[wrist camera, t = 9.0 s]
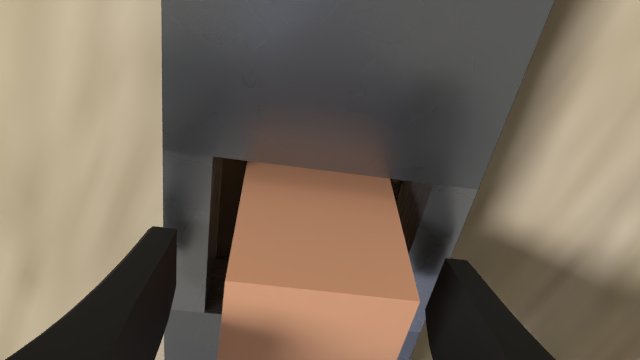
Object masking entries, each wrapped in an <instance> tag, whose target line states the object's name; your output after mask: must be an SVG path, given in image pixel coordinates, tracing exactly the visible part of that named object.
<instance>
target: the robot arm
mask: <svg viewBox="0 0 640 360" xmlns="http://www.w3.org/2000/svg"><path fill="white" fill-rule="evenodd" d="M176 269H177V229H172V228H163V227H154V226H153V227H151V228H150V229H148V230H147V232H146V233H145V234H144V236H143V237H142V238H141V239H140V240H139V242H138V243H137V244H136V245H135V246H134V247H133V249H132V250H131V251H130V252H129V253H128V254H127V255H126V256H125V258H124V259H123V260H122V261H121V262H120V263H119V264H118V265H117V266H116V267H115V268H114V269H113V270H112V271H111V272H110V273H109V274H108V275H107V277H106V278H105V279H104V280H103V281H102V282H101V283H100V284H99V285H98V286H96V287H95V288H94V289H93V290H92V291H91V292H90V293H89V294H88V295H87V296H86V297H85V298H84V299H82V300H81V301H80V302H79V303H78V304H77V305H76V306H75V307H74V308H73V309H71V310H70V311H69V312H68V313H67V314H66V315H64V316H63V317H62V318H61V319H60V320H58V321H57V322H56V323H55V324H53V325H52V326H51V327H50V328H48V329H47V330H46V331H44V332H43V333H42V334H41V335H39V336H38V337H36V338H35V339H34V340H32V341H31V342H30V343H28V344H27V345H25V346H24V347H23V348H21V349H20V350H19V351H17V352H16V353H14V354H13V355H11V356H10V357H8V358H7V359H5V360H155V357H156V354H157V351H158V349H159V346H160V343H161V340H162V337H163V334H164V332H165V329H166V326H167V323H168V320H169V315H170V311H171V307H172V303H173V298H174V294H175V289H176ZM425 315H426V324H427V332H428V339H429V346H430V350H431V354H432V358H433V360H556V359H555V358H553V357H552V356H551V355H550V354H549V353H548V352H547V351H546V350H545V349H544V348H543V347H542V346H541V344H540V343H539V342H538V341H537V340H536V339H535V338H534V337H533V336H532V335H531V334H530V333H529V332H528V331H527V330H526V329H525V328H524V327H523V325H522V324H521V323H520V322H519V321H518V320H517V319H516V318H515V317H514V315H513V314H512V313H511V312H510V311H509V310H508V309H507V307H506V306H505V305H504V304H503V303H502V302H501V300H500V299H499V298H498V297H497V296H496V294H495V293H494V292H493V291H492V290H491V288H490V287H489V286H488V285H487V284H486V282H485V281H484V280H483V279H482V278H481V276H480V275H479V274H478V273H477V272H476V270H475V269H474V268H473V267H472V266H471V265H470V263H469V262H468V261H467V260H458V259H449V258H445V260H444V263H443V265H442V268H441V270H440V273H439V275H438V278H437V280H436V283H435V286H434V288H433V291H432V293H431V296H430V298H429V301H428V303H427V306H426V308H425Z"/></svg>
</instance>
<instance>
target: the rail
mask: <svg viewBox="0 0 640 360" xmlns="http://www.w3.org/2000/svg"><path fill="white" fill-rule="evenodd" d="M553 3H554V0H161V7H162V122H163V228H172V229H177V269H176V289H175V294H174V298H173V303H172V307H171V311H170V315H169V320H168V323H167V326H166V329H165V332H164V352H165V360H217V359H218V349H219V339H220V328H221V318H222V308H223V297H224V287H225V279H226V273H227V268H228V262H229V258H222V257H216V255H217V240H218V225H219V210H220V195H221V180H222V165H223V158H229V159H237V160H245V161H253V162H261V163H269V164H277V165H285V166H293V167H301V168H309V169H317V170H325V171H333V172H341V173H349V174H357V175H365V176H373V177H381V178H389V179H397V180H403V181H402V184H401V188H400V191H399V194H398V198H397V201H396V205H397V209H398V214H399V218H400V222H401V226H402V230H403V234H404V238H405V242H406V246H407V250H408V254H409V258H410V262H411V266H412V271H413V275H414V279H415V283H416V287H417V291H418V295H419V299H420V303H419V306H418V308H417V311H416V313H415V316H414V318H413V321H412V323H411V326H410V328H409V331H408V333H407V336H406V338H405V341H404V343H403V346H402V348H401V351H400V353H399V356H398V358H397V360H409V359H410V357H411V354H412V352H413V349H414V347H415V344H416V342H417V339H418V337H419V334H420V332H421V329H422V327H423V324H424V322H425V319H426V315H425V308H426V306H427V303H428V301H429V298H430V296H431V293H432V291H433V288H434V286H435V283H436V280H437V278H438V275H439V273H440V270H441V268H442V265H443V263H444V260H445V258H449V259H450V258H451V255H452V253H453V250H454V248H455V245H456V243H457V240H458V238H459V235H460V233H461V230H462V228H463V225H464V223H465V220H466V218H467V216H468V213H469V211H470V208H471V206H472V203H473V201H474V198H475V196H476V193H477V191H478V188H479V186H480V183H481V181H482V178H483V176H484V173H485V171H486V169H487V166H488V164H489V161H490V159H491V156H492V154H493V151H494V149H495V146H496V144H497V141H498V139H499V136H500V134H501V131H502V129H503V126H504V124H505V122H506V119H507V117H508V114H509V112H510V109H511V107H512V104H513V102H514V99H515V97H516V94H517V92H518V89H519V87H520V84H521V82H522V79H523V77H524V74H525V72H526V70H527V67H528V65H529V62H530V60H531V57H532V55H533V52H534V50H535V47H536V45H537V42H538V40H539V37H540V35H541V32H542V30H543V27H544V25H545V23H546V20H547V18H548V15H549V13H550V10H551V8H552V5H553Z"/></svg>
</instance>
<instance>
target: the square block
mask: <svg viewBox="0 0 640 360" xmlns="http://www.w3.org/2000/svg"><path fill="white" fill-rule="evenodd" d="M419 303H420V299H419V295H418V291H417V287H416V283H415V279H414V275H413V271H412V266H411V262H410V258H409V254H408V250H407V246H406V242H405V238H404V234H403V230H402V226H401V222H400V218H399V214H398V209H397V205H396V201H395V197H394V193H393V189H392V185H391V181H390V179H389V178H381V177H373V176H365V175H357V174H349V173H341V172H333V171H325V170H317V169H309V168H301V167H293V166H285V165H277V164H269V163H261V162H253V161H247V165H246V171H245V176H244V182H243V187H242V192H241V198H240V203H239V209H238V214H237V219H236V225H235V230H234V236H233V241H232V246H231V252H230V257H229V262H228V268H227V273H226V279H225V287H224V297H223V308H222V318H221V328H220V339H219V349H218V359H217V360H397V358H398V356H399V353H400V351H401V348H402V346H403V343H404V341H405V338H406V336H407V333H408V331H409V328H410V326H411V323H412V321H413V318H414V316H415V313H416V311H417V308H418V306H419Z"/></svg>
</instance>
